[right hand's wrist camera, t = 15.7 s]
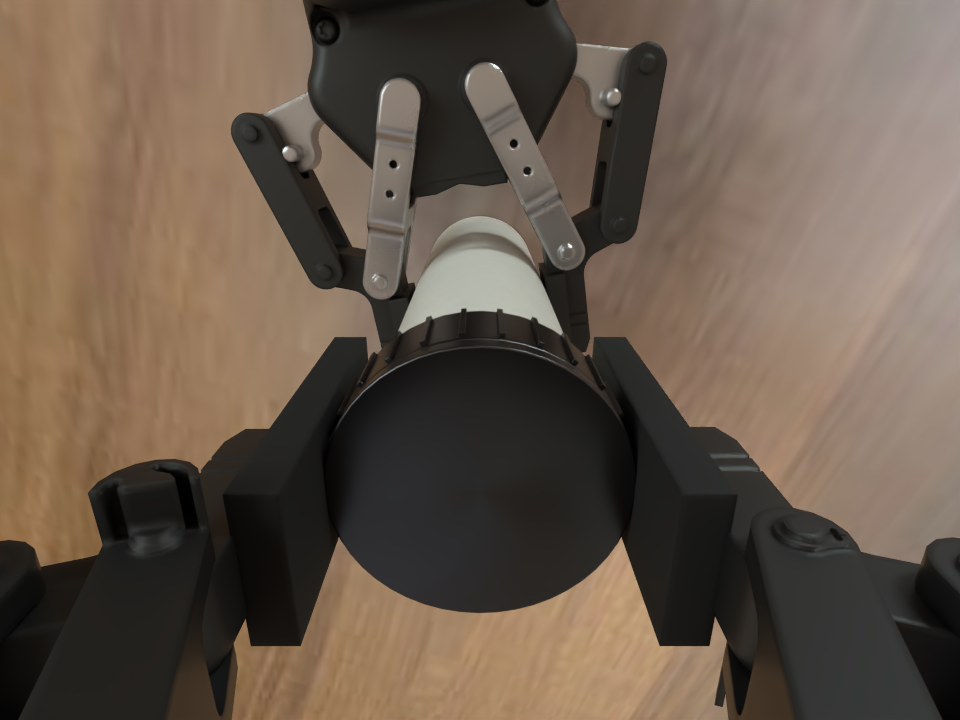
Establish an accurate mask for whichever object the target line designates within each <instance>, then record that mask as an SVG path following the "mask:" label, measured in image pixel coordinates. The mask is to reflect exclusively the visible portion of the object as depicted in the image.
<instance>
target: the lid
mask: <svg viewBox="0 0 960 720" xmlns="http://www.w3.org/2000/svg"><path fill="white" fill-rule="evenodd" d="M337 415H339V416H340V418H339V420H338V422H337V424H336V426H335V428H334V431H333V433H332V435H331V437H330V439H329V441H328V450H327V453H326V459H325V466H324V482H325V492H326V500H327V508H328V511H329V514H330V517H331V520H332V523H333V526H334V528H335V530H336V532H337V534H338V535H339V537H340V539H341V541H342V542H343V544H344V545H345V547H346V548H347V550H348V551H349V553H350V554H351V555H352V556H353V557H354V559H355V560H356V561H357V562H358V563H359V564H360V565H361V566H362V567H363V568H364V569H365V570H366V571H367V572H368V573H370V574H371V575H372V576H373V577H374V578H375V579H377V580H378V581H380V582H381V583H383V584H384V585H386V586H387V587H389V588H390V589H392V590H394V591H396V592H397V593H399V594H401V595H403V596H405V597H407V598H410V599H412V600H415V601H417V602H420V603H422V604H426V605H429V606H433V607H437V608H440V609H445V610H452V611H458V612H470V613H490V612H502V611H509V610H516V609H520V608H524V607H528V606H532V605H535V604H538V603H540V602H543V601H546V600H548V599H551V598H553V597H555V596H557V595H559V594H561V593H563V592H565V591H567V590H569V589H570V588H572V587H573V586H575V585H576V584H578V583H579V582H581V581H582V580H584V579H585V578H586V577H587V576H588V575H590V574H591V573H592V572H593V571H595V570H596V569H597V568H598V567H599V565H600V564H601V563H602V562H603V561H604V560H605V559H606V558H607V557H608V556H609V554H610V553H611V552H612V550H613V549H614V547H615V546H616V545H617V543H618V542H619V540H620V538H621V536H622V534H623V532H624V531H625V529H626V527H627V524H628V521H629V518H630V516H631V513H632V510H633V503H634V495H635V486H636V477H637V475H636V463H635V456H634V452H633V449H632V444H631V441H630V438H629V436H628V434H627V432H626V429H625V427H624V425H623V423H622V420H621V419H622V418H624V417H625V416H624V414H623V412H622V410H621V408H620V406H619V404H618V402H617V400H616V398H615V396H614V394H613V392H612V390H611V388H610V387H609V385H608V383H607V381H604V382H603V380H602V378H601V376H600V374H599V372H598V370H597V368H596V366H595V364H594V362H593V360H592V358H591V356H590V355H589V354H588V355H587V356H584V355H583V353H582V352H581V351H580V350H579V349H577V348H576V347H575V346H574V345H573V344H572V343H571V342H570V340H569V338H568V335H567V334H565V333H564V332H563V333H562V334H561V335H560V334H558V333H557V332H555V331H554V330H552V329H550V328H548V327H546V326H544V325H542V324H540V323H538V320H537V318H535V317H532V318H531V320H529V319H527V318H524V317H521V316H517V315H512V314H507V313H503V309H497V312H491V311H469V312H467V308H463V309H461V312H459V313H454V314H448V315H443V316H440V317H437V318H434V319H433V318H432V316H428V317H426V320H425V322H423V323H421V324H419V325H416V326H414V327H412V328H410V329H408V330H407V331H405V332H404V333H401V331H398V332H397V333H396V334H395V336H394V338H393V340H392V341H391V342H390V343H389V344H387V345H386V346H385V347H384V348H383V349H382V350H381V351H380V352H379V353H378V354H376V353H375V352H373V353H372V355H371V356H370V358H369V360H368V362H367V364H366V366H365V368H364V370H363V372H362V374H361V376H360V378H359V379H357V378H355V379H354V381H353V383H352V385H351V387H350V389H349V391H348V393H347V395H346V397H345V399H344V401H343V403H342V405H341V407H340V409H339V411H338V413H337Z"/></svg>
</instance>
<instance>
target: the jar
mask: <svg viewBox="0 0 960 720" xmlns="http://www.w3.org/2000/svg"><path fill="white" fill-rule="evenodd" d="M463 308H467V312H469V311H491V312H497V309H503V313H507V314H512V315H517V316H521V317H524V318H527V319H529V320H531V318H532V317H535V318H537V320H538V323H540V324H542V325H544V326H546V327H548V328H550V329H552V330H554V331H555V332H557V333H558V334H560V335H561V334H562V333H563V332H562V329H561V327H560V324H559V322H558V320H557V317H556V315H555V312H554V310H553V308H552V305H551V303H550V300H549V298H548V296H547V293H546V291H545V288H544V286H543V284H542V281H541V279H540V276H539V274H538V272H537V269H536V267H535V264H534V262H533V260H532V257H531V255H530V253H529V250H528V248H527V246H526V244H525V242H524V240H523V239H522V237H521V236H520V235H519V234H518V232H517V231H516V230H515V229H513V228H512V227H511V226H509V225H508V224H506V223H505V222H503V221H501V220H498V219H495V218H491V217H484V216H476V217H469V218H465V219H462V220H460V221H458V222H456V223H454V224H452V225H451V226H450V227H448V228H447V229H446V230H445V231H444V232H443V233H442V234H441V235H440V236H439V238H438V239H437V241H436V242H435V244H434V247H433V249H432V251H431V254H430V256H429V258H428V261H427V263H426V266H425V268H424V270H423V273H422V275H421V278H420V280H419V282H418V285H417V287H416V290H415V292H414V294H413V297H412V299H411V302H410V304H409V306H408V309H407V311H406V314H405V316H404V318H403V321H402V323H401V326H400V328H399V330H398V331H401V333H404V332H405V331H407V330H408V329H410V328H412V327H414V326H416V325H419V324H421V323H423V322H425V320H426V317H428V316H432V318H433V319H434V318H437V317H440V316H443V315H448V314H454V313H459V312H461V309H463Z"/></svg>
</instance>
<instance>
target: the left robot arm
mask: <svg viewBox="0 0 960 720" xmlns="http://www.w3.org/2000/svg"><path fill="white" fill-rule="evenodd" d="M303 3H304V7H305V12H306V16H307V20H308V24H309V28H310V32H311V37H312V44H313V59H312V66H311V70H310V74H309V78H308V92H307V93H305V94H303V95H301V96H299V97H297V98H295V99H292V100H290V101H288V102H286V103H284V104H282V105H280V106H278V107H276V108H274V109H272V110H270V111H268V112H266V113H264V114H257V113H242V114H240V115H238V116H237V117H236V118H235V119H234V121H233V123H232V126H231V135H232V138H233V141H234V143H235V144H236V146H237V148H238V150H239V152H240V154H241V155H242V157H243V159H244V161H245V163H246V164H247V166H248V168H249V170H250V172H251V174H252V175H253V177H254V179H255V181H256V183H257V185H258V186H259V188H260V190H261V192H262V194H263V196H264V197H265V199H266V201H267V203H268V205H269V206H270V208H271V210H272V212H273V214H274V216H275V217H276V219H277V221H278V223H279V225H280V227H281V228H282V230H283V232H284V234H285V236H286V238H287V239H288V241H289V243H290V245H291V247H292V249H293V250H294V252H295V254H296V256H297V258H298V259H299V261H300V263H301V265H302V267H303V269H304V270H305V272H306V274H307V276H308V278H309V279H310V281H311V282H312V283H313V284H314V285H315V286H317V287H318V288H321V289H332V288H334V287H338V288H343V289H349V290H354V291H357V292H359V293H361V294H363V295H364V296H365V297H366V298H367V299H368V300H369V302H370V304H371V306H372V309H373V313H374V318H375V322H376V326H377V330H378V334H379V339H380V342H381V347H382V349H383V348H384V347H385V346H386V345H387V344H389V343H390V342H391V341H392V340H393V338H394V336H395V334H396V333H397V332H398V330H399V328H400V326H401V323H402V321H403V318H404V316H405V314H406V311H407V309H408V306H409V304H410V302H411V299H412V297H413V294H414V292H415V290H416V289H415V284H414V283H409V284H408V282H407V277H406V269H407V262H408V255H409V248H410V241H411V234H412V227H413V223H414V219H415V213H416V206H417V199H418V197H424V196H430V195H435V194H438V193H440V192H442V191H445V190H447V189H449V188H451V187H453V186H455V185H458V184H467V185H477V186H489V185H495V184H501V183H507V180H508V179H509V181H510V183H511V185H512V187H513V189H514V191H515V193H516V195H517V197H518V199H519V201H520V203H521V205H522V206H523V208H524V210H525V212H526V214H527V216H528V218H529V220H530V222H531V224H532V226H533V228H534V230H535V232H536V234H537V236H538V238H539V240H540V242H541V244H542V250H543V258H544V263H539V271H540V279H541V281H542V284H543V286H544V288H545V291H546V293H547V296H548V298H549V300H550V303H551V305H552V308H553V310H554V312H555V315H556V317H557V320H558V322H559V324H560V327H561V329H562V332H564V333H565V334H567V335H568V338H569V340H570V342H571V343H572V344H573V345H574V346H575V347H576V348H577V349H579V350H580V351H581V352H586V349H587V346H588V343H589V340H590V333H589V324H588V313H587V303H586V293H585V283H584V268H585V265H586V262H587V261H588V259H589V258H590V257H591V256H592V255H593V254H594V253H596V252H598V251H600V250H601V249H603V248H605V247H607V246H609V245H611V244H613V243H615V244H620V243H624V242H626V241H628V240H629V239H631V238H632V236H633V235H634V234H635V232H636V229H637V225H638V219H639V214H640V208H641V203H642V197H643V192H644V186H645V181H646V175H647V170H648V165H649V159H650V154H651V148H652V143H653V137H654V132H655V126H656V121H657V115H658V110H659V104H660V99H661V93H662V88H663V82H664V77H665V71H666V66H667V58H666V54H665V52H664V50H663V49H662V47H661V46H659V45H658V44H656V43H654V42H644V43H641V44H639V45H636V46H633V47H631V48H621V47H611V46H600V45H590V44H580V43H576V40H575V37H574V34H573V32H572V30H571V29H570V27H569V26H568V25H567V23H566V21H565V20H564V18H563V16H562V14H561V12H560V10H559V7H558V4H557V1H556V0H303ZM571 79H574V80H576V81H578V82H579V83H580V84H581V85H582V86H583V88H584V91H585V95H586V107H587V110H588V112H589V113H590V114H591V115H592V116H593V117H594V118H596V119H600V120H603V121H602V127H601V134H600V140H599V147H598V154H597V160H596V167H595V173H594V180H593V187H592V193H591V200H590V206H589V208H588V209H586V210H584V211H582V212H581V213H579V214H577V215H575V216H573V217H572V218H571V217H570V215H569V213H568V211H567V209H566V207H565V205H564V203H563V200H562V198H561V195H560V192H559V190H558V188H557V185H556V183H555V181H554V179H553V177H552V175H551V173H550V171H549V169H548V167H547V165H546V163H545V160H544V158H543V156H542V154H541V152H540V150H539V148H538V146H537V145H538V143H539V141H540V139H541V137H542V135H543V133H544V131H545V129H546V127H547V125H548V123H549V121H550V119H551V117H552V115H553V113H554V111H555V109H556V107H557V105H558V103H559V101H560V99H561V97H562V95H563V93H564V92H565V90H566V88H567V86H568V84H569V82H570V80H571ZM323 124H326V125H327V126H328V127H329V128H330V129H331V130H332V131H333V132H334V133H335V134H336V135H337V136H338V137H339V138H340V139H341V140H342V141H343V142H344V143H345V144H346V145H348V146H349V147H350V148H351V149H352V150H353V151H354V152H355V153H356V154H357V155H358V156H359V157H360V158H361V159H362V160H363V161H364V162H365V163H366V164H367V165H368V166H369V167H370V168H371V169H372V170H373V172H372V181H371V190H370V199H369V208H368V217H367V227H368V239H367V248H366V250H365V249H360V248H355V247H352V245H351V243H350V241H349V239H348V237H347V235H346V234H345V232H344V230H343V228H342V226H341V224H340V222H339V220H338V218H337V216H336V214H335V212H334V210H333V208H332V206H331V204H330V202H329V200H328V198H327V196H326V194H325V192H324V190H323V188H322V186H321V184H320V183H319V181H318V179H317V177H316V175H315V173H314V171H313V169H314V168H316V167H317V166H318V165H319V163H320V161H321V157H322V152H321V148H320V145H319V140H318V135H319V131H320V129H321V127H322V126H323Z"/></svg>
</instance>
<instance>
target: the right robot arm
mask: <svg viewBox="0 0 960 720" xmlns="http://www.w3.org/2000/svg"><path fill="white" fill-rule="evenodd" d="M592 360H593V362H594V364H595V366H596V368H597V370H598V372H599V374H600V376H601V378H602V380H603V382H604V381H607V383H608V385H609V387H610V388H611V390H612V392H613V394H614V396H615V398H616V400H617V402H618V404H619V406H620V408H621V410H622V412H623V414H624V416H625V417H624V418H622V419H621V420H622V423H623V425H624V427H625V429H626V432H627V434H628V436H629V438H630V441H631V444H632V449H633V452H634V456H635V463H636V475H637V477H636V486H635V495H634V503H633V510H632V513H631V516H630V518H629V521H628V524H627V527H626V529H625V531H624V532H623V534H622V536H621V537H622V540H623V543H624V545H625V548H626V551H627V554H628V557H629V560H630V562H631V565H632V568H633V571H634V574H635V577H636V580H637V582H638V585H639V588H640V591H641V594H642V597H643V600H644V602H645V605H646V608H647V611H648V614H649V617H650V619H651V622H652V625H653V628H654V631H655V634H656V637H657V639H658V642H659V645H660V646H709V645H710V640H711V635H712V630H713V624H714V619H715V617H716V619H717V621H718V623H719V625H720V627H721V629H722V631H723V633H724V635H725V637H726V639H727V643H726V648H725V653H724V658H723V663H722V668H721V673H720V678H719V683H718V688H717V693H716V699H715V705H717V706H721V707H723V703H724V698H725V694H726V702H727V710H728V718H729V720H960V538H944V539H936V540H935V541H933V542H932V543H930V544H929V545H928V546H927V547H926V550H925V553H924V556H923V559H922V562H921V565H920V564H915V563H910V562H905V561H900V560H895V559H890V558H885V557H880V556H875V555H871V554H867V553H863V552H861V551H860V549H859V547H858V545H857V543H856V542H855V541H854V540H853V538H852V537H851V536H850V535H849V533H848V532H847V531H845V530H844V529H842V528H841V527H839V526H838V525H837V524H835V523H834V522H832V521H830V520H828V519H826V518H823V517H821V516H819V515H817V514H814V513H811V512H807V511H803V510H799V509H795V508H793V507H792V506H791V505H790V504H789V502H788V501H787V500H786V499H785V498H784V496H783V495H782V494H781V493H780V492H779V490H778V489H777V488H776V487H775V486H774V484H773V483H772V482H771V481H770V480H769V478H768V477H767V476H766V475H765V474H764V472H763V471H760V468H759V467H758V465H757V464H756V463H755V462H754V461H753V459H752V458H749V455H748V453H747V452H746V451H745V450H744V449H743V447H742V446H741V445H740V444H739V443H738V441H737V440H735V439H734V438H732V437H730V436H729V435H727V434H725V433H724V432H722V431H720V430H719V429H717V428H715V427H689V425H688V424H687V423H686V421H685V420H684V418H683V417H682V416H681V414H680V413H679V411H678V410H677V409H676V407H675V406H674V404H673V403H672V402H671V400H670V399H669V397H668V396H667V395H666V393H665V392H664V390H663V389H662V388H661V386H660V385H659V383H658V382H657V381H656V379H655V378H654V376H653V375H652V374H651V372H650V371H649V369H648V368H647V367H646V365H645V364H644V362H643V361H642V360H641V358H640V357H639V355H638V354H637V353H636V351H635V350H634V349H633V347H632V346H631V344H630V343H629V342H628V340H627V339H626V337H594V345H593V358H592ZM367 362H368V353H367V340H366V337H335V338H334V339H333V341H332V342H331V343H330V345H329V346H328V348H327V349H326V350H325V352H324V353H323V355H322V356H321V357H320V359H319V360H318V362H317V363H316V364H315V366H314V367H313V369H312V370H311V371H310V373H309V374H308V376H307V377H306V378H305V380H304V381H303V383H302V384H301V385H300V387H299V388H298V390H297V391H296V392H295V394H294V395H293V397H292V398H291V399H290V401H289V402H288V404H287V405H286V406H285V408H284V409H283V410H282V412H281V413H280V415H279V416H278V417H277V419H276V420H275V422H274V423H273V424H272V426H271V427H270V429H245V430H243V431H242V432H240V433H238V434H237V435H235V436H234V437H232V438H230V439H229V440H227V441H225V442H224V443H223V444H222V446H221V447H220V448H219V449H218V450H217V452H216V453H215V454H214V455H213V456H212V460H209V461H208V462H207V464H206V465H205V466H204V467H203V468H202V470H201V473H199V471H198V468H197V467H195V466H194V465H193V464H191V463H190V462H187V461H182V460H177V459H165V460H153V461H148V462H143V463H139V464H135V465H132V466H129V467H127V468H124V469H121V470H119V471H116V472H114V473H112V474H111V475H109V476H107V477H106V478H104V479H102V480H101V481H99V482H98V483H97V484H96V485H95V486H94V487H93V488H92V489H91V490H90V491H89V492H88V495H89V499H90V502H91V506H92V509H93V513H94V516H95V519H96V523H97V526H98V530H99V533H100V537H101V540H102V544H103V546H102V548H101V550H100V552H99V554H98V555H96V556H92V557H88V558H83V559H78V560H73V561H68V562H63V563H58V564H53V565H48V566H43V567H41V566H40V563H39V561H38V558H37V555H36V552H35V549H34V548H33V547H31V546H30V545H29V544H27V543H26V542H21V541H12V540H6V541H0V720H232V712H233V703H234V695H235V687H236V678H237V670H238V666H237V659H236V653H235V648H234V641H235V639H236V637H237V635H238V633H239V631H240V629H241V627H242V625H243V623H244V621H245V618H246V622H247V628H248V633H249V638H250V643H251V646H301V643H302V640H303V638H304V635H305V632H306V629H307V626H308V623H309V620H310V618H311V615H312V612H313V609H314V606H315V603H316V601H317V598H318V595H319V592H320V589H321V586H322V583H323V581H324V578H325V575H326V572H327V569H328V566H329V563H330V561H331V558H332V555H333V552H334V549H335V546H336V544H337V541H338V538H339V535H338V534H337V532H336V530H335V528H334V526H333V523H332V520H331V517H330V514H329V511H328V508H327V500H326V492H325V482H324V466H325V459H326V453H327V450H328V441H329V439H330V437H331V435H332V433H333V431H334V428H335V426H336V424H337V422H338V420H339V418H340V416H339V415H337V413H338V411H339V409H340V407H341V405H342V403H343V401H344V399H345V397H346V395H347V393H348V391H349V389H350V387H351V385H352V383H353V381H354V379H355V378H357V379H359V378H360V376H361V374H362V372H363V370H364V368H365V366H366V364H367Z"/></svg>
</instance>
